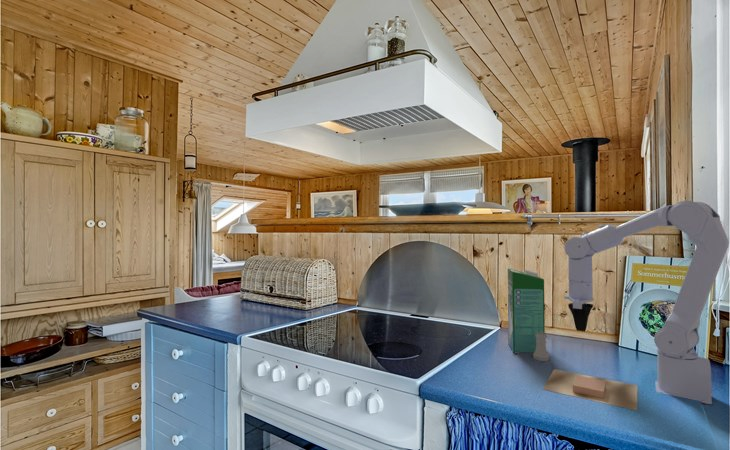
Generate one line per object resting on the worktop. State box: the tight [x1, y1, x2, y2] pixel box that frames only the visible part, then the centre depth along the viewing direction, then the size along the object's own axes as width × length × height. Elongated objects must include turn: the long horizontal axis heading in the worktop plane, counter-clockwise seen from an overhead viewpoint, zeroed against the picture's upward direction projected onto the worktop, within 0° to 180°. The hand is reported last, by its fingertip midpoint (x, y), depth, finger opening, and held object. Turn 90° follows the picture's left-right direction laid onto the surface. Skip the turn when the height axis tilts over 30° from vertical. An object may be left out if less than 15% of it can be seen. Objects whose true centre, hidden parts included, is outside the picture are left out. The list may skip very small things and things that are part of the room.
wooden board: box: [542, 368, 638, 411], centre depth 89 cm, size 18×15×1 cm
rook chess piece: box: [532, 331, 550, 362], centre depth 109 cm, size 4×4×8 cm
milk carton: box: [507, 267, 546, 354], centre depth 119 cm, size 9×9×25 cm
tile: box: [573, 375, 606, 398], centre depth 88 cm, size 6×2×7 cm
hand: (581, 330), depth 104 cm, fingers closed
